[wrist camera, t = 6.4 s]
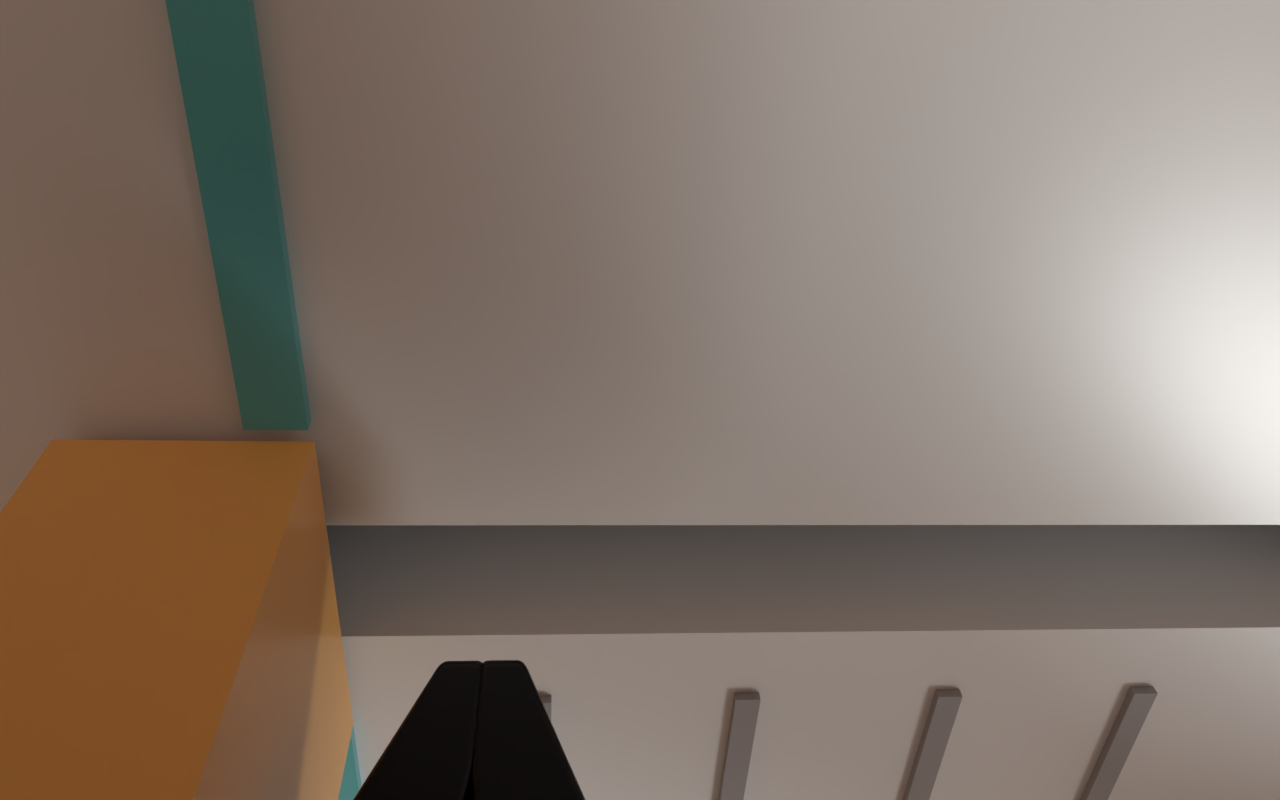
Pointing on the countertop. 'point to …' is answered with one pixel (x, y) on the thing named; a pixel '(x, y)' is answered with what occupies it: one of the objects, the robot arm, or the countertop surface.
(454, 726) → the robot arm
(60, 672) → the fader knob
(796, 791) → the console
